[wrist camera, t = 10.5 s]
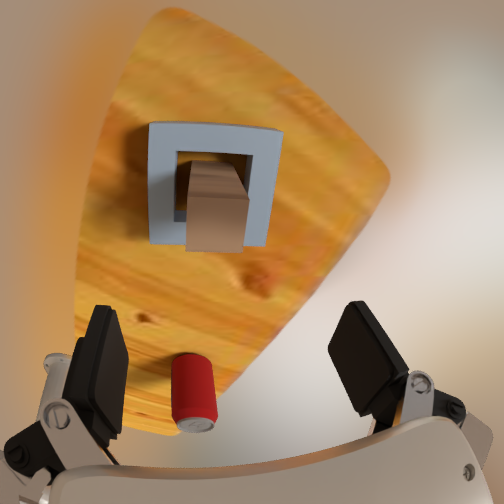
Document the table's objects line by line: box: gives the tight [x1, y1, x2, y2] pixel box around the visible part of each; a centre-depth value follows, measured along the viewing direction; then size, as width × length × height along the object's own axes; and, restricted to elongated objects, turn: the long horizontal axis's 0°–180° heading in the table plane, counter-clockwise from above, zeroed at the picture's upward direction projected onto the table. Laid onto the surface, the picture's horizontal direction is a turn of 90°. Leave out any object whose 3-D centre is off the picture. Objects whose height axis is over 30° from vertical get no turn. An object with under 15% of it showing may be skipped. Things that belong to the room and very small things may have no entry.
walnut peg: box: [186, 160, 250, 253], centre depth 23 cm, size 4×4×11 cm
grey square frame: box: [148, 121, 284, 246], centre depth 26 cm, size 12×12×3 cm
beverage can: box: [171, 354, 218, 433], centre depth 37 cm, size 7×7×12 cm
